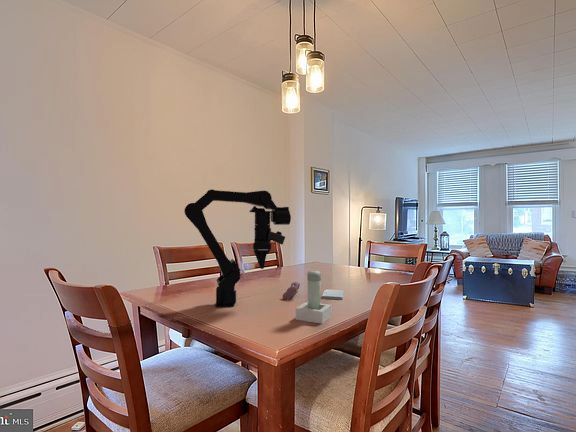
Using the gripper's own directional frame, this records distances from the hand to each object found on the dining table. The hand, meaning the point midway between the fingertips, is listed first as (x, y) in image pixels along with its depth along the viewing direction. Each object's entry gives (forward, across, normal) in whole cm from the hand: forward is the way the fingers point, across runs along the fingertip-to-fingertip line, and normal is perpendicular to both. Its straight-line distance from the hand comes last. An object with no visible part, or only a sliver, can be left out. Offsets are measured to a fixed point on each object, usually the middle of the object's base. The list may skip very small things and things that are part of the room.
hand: (262, 266), depth 119 cm
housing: (+13, -20, -16) cm, 29 cm away
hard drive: (+14, +9, -29) cm, 33 cm away
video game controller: (+13, +8, -12) cm, 19 cm away
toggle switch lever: (+12, -20, -16) cm, 28 cm away
